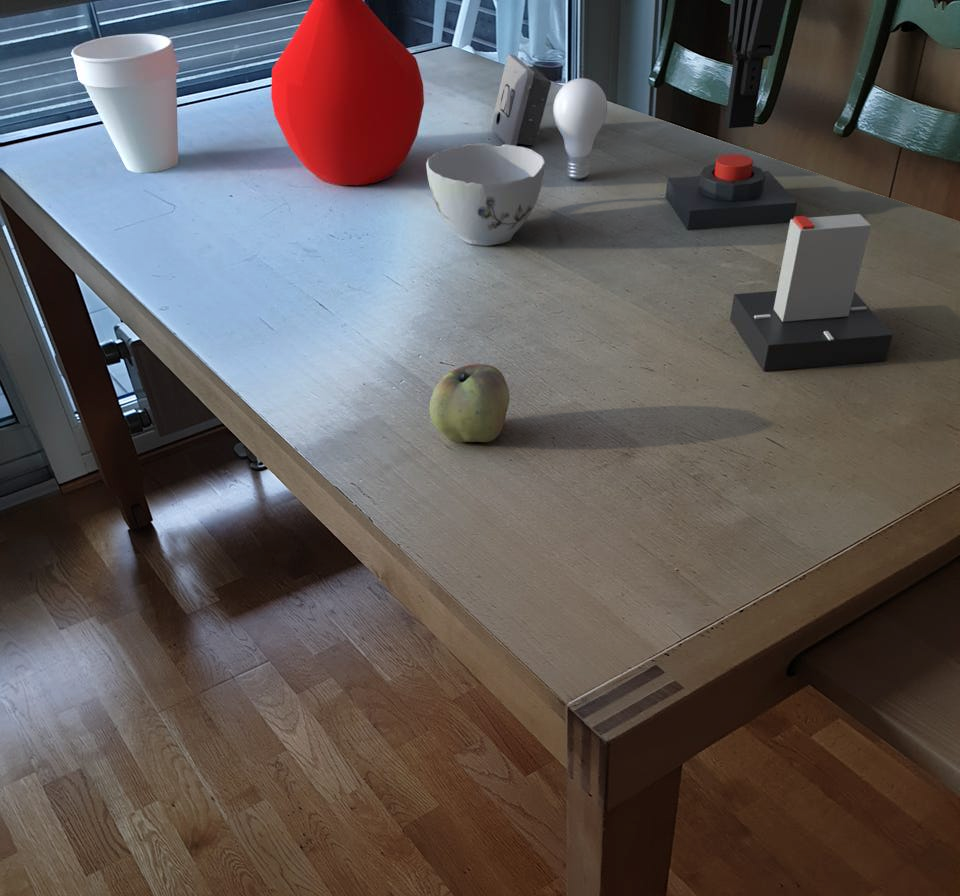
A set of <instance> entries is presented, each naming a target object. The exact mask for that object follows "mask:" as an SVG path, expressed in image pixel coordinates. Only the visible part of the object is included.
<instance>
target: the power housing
mask: <svg viewBox="0 0 960 896" xmlns="http://www.w3.org/2000/svg"><path fill="white" fill-rule="evenodd" d="M715 166H716V163H713V164H710V165H707V166H704V167H703V169H702V170H701V171H700V173H699V175H695V176H683V177H681V176H680V177H668V178H667V179H666V188H665V199H666V200H667V202H668V204H669V205H670V206H671V208H672V210H673V211H674V213H675V214H676V216H677V217H678V218H679V220H680V221H681V223H682V225H683V226H684V227H685V229H686V230H687V232H689V231H701V230H712V229H713V230H714V229H727V228H737V227H750V226H763V225H777V224H790V220H791V219H794V217H796V212H797V208H798V202H797V201H796V199H795V198H794V197H793V196H792V195H791V194H790V192H788V190H787V189H786V188H785V187H784V186H783V185H782V184H781V183H780V182H779V181H778V180H777V179H776V178H775V176H774V175H773V174H772V173H771V172H770V171H769V170H764V171H763V169H762V168H761V167H758V166H755V165H753V166H752V173H751V178H749V179H746V180H739V181H730V180H722V179H719V178H716V177H714V174H715Z"/></svg>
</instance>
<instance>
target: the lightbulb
mask: <svg viewBox="0 0 960 896" xmlns="http://www.w3.org/2000/svg"><path fill="white" fill-rule="evenodd" d="M607 115H608V100H607V97H606V94H605V92H604V90H603V88H602V87H601V86H600V84H598V83H597V82H596V81H594V80H592V79H590V78H586V77H585V78H584V77H578V78H574V79H571V80H568V81H567V82H566V83H564V84H563V86H561V87H560V88H559V90H558V91H557V93H556V94H555V97H554V100H553V105H552V116H553V120H554V123H555V125H556V128H557V130H558V131H559V133H560V135H561V137H562V139H563V144H564V149H565V152H566V157H567V158H566V160H567V161H566V163H567V165H566V167H567V169H566V171H567V172H566V176H568V177H569V178H570V179H572V180H574V181H581V180H583V179H584V178H586V177H587V176H589V174H590V170H589V169H590V167H589V166H590V154H591V152H592V150H593V147H594V142H595V139H596V137H597V135H598V133H599V132H600V131H601V129H602V128H603V126H604V123H605V121H606V118H607Z"/></svg>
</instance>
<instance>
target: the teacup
mask: <svg viewBox="0 0 960 896" xmlns="http://www.w3.org/2000/svg"><path fill="white" fill-rule="evenodd" d="M425 165H426V174H427V181H428V184H429V189H430V191H431V195H432V198H433V201H434V203H435V206H436V207H437V210H438V212H439V213H440V215H441V217H442V218H443V219H444V221H445V222H446V224H447V225H448V226H449V227H450V228H451V229H452V230H453V231H454V232H455V233H456V234H457V235H459V237H460V239H461V240H462V241H463V242H465V243H466V244H469V245H475V246H485V247H486V246H488V247H489V246H490V247H491V246H493V245H499V244H505V243H507V242H509V241H510V242H511V240H512V238H513V237H514V234H515V233H517V232H518V231H519V230H520V229H521V227H522V226H523V225H524V224H525V223H526V221H527V220H528V218H529V217H530V215H531V214H532V212H533V210H534V208H535V206H536V203H537V201H538V198H539V196H540V193H541V188H542V183H543V180H544V175H545V166H546V161H545V158H544V156H542V155H541V154H540V153H538V152H537V151H535V150H534V149H530V148H528V147H525V146H519V145H516V146H514V145H507V144H505V143H504V144H502V145H495V144H492V143H468V144H463V145H460V146H457V147H451V148H447V149H445V150H439V151H436V152H435V153H433V155H432V156H429V157H428V158H427V161H426V163H425Z"/></svg>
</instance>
